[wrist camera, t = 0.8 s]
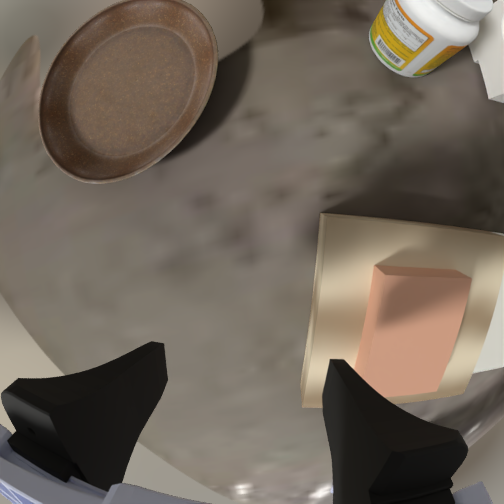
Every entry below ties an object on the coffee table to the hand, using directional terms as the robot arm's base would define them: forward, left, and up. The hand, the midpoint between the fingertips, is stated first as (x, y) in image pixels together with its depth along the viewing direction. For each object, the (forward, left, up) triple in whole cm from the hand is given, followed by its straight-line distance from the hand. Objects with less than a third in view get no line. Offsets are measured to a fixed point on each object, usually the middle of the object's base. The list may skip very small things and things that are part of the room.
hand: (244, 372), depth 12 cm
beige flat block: (0, -11, -8) cm, 14 cm away
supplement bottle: (+19, -10, -9) cm, 23 cm away
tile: (0, -10, -4) cm, 11 cm away
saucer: (+15, +10, -9) cm, 21 cm away
